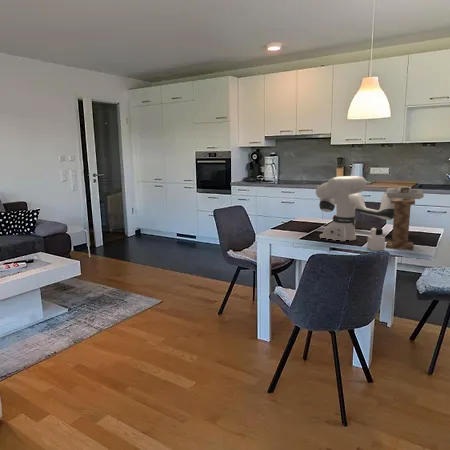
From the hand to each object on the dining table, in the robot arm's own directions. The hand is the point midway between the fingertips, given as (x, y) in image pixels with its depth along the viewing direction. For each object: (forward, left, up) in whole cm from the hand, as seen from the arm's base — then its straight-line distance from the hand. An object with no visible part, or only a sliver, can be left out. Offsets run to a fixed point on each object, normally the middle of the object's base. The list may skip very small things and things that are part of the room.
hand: (405, 188), depth 226 cm
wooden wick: (0, -4, -1) cm, 4 cm away
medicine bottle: (-13, -25, -32) cm, 42 cm away
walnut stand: (0, -14, -32) cm, 35 cm away
